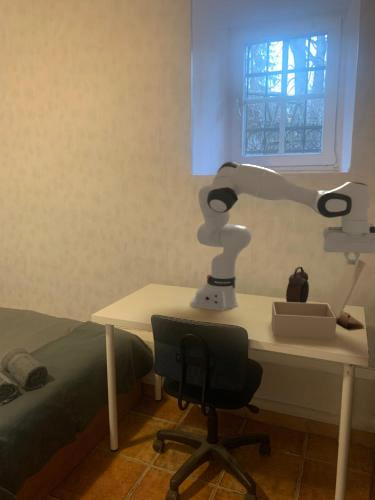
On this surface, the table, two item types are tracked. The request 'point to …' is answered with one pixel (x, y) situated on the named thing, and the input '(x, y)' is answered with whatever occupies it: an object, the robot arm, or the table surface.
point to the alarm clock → (298, 287)
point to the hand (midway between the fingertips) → (350, 264)
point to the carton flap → (345, 286)
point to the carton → (303, 320)
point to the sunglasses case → (348, 321)
